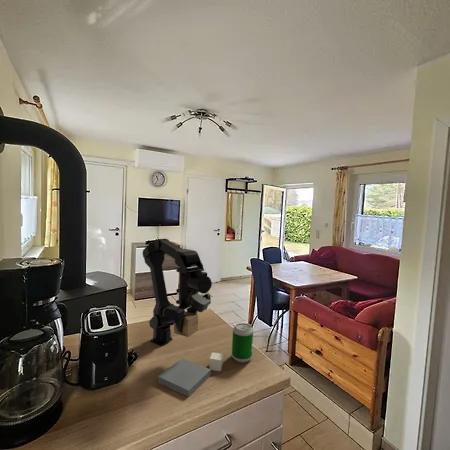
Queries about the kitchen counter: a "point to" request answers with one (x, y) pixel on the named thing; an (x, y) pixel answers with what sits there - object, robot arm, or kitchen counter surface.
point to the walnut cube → (188, 324)
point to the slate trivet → (184, 376)
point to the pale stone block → (216, 361)
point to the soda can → (242, 342)
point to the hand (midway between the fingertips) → (186, 328)
